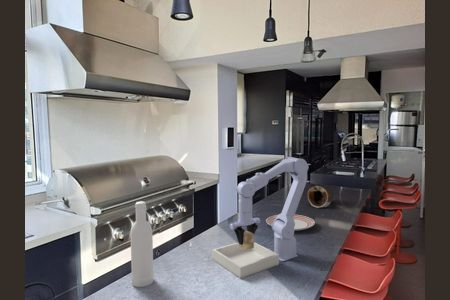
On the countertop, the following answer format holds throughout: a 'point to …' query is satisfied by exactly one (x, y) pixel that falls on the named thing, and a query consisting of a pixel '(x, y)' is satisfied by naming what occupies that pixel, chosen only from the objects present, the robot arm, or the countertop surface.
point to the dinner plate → (296, 222)
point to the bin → (245, 259)
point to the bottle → (141, 248)
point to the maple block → (247, 241)
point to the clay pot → (320, 196)
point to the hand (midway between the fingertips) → (245, 242)
